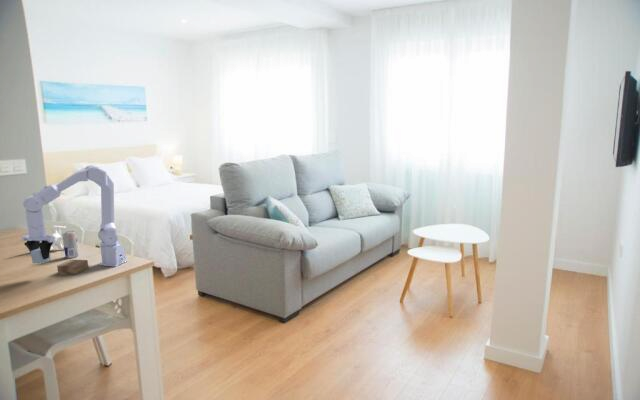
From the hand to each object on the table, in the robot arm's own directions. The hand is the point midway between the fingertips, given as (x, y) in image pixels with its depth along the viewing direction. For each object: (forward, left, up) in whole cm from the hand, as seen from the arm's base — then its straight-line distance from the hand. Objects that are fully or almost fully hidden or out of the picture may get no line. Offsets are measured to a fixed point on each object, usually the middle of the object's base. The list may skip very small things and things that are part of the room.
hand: (41, 258), depth 175 cm
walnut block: (-6, -9, -9) cm, 14 cm away
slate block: (0, 0, -1) cm, 1 cm away
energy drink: (+11, -25, -9) cm, 29 cm away
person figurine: (+30, -30, -9) cm, 44 cm away
